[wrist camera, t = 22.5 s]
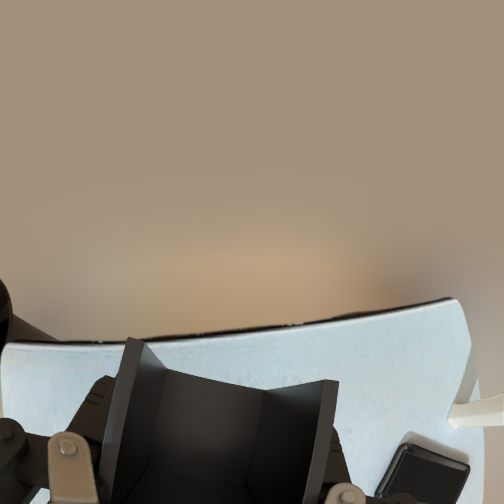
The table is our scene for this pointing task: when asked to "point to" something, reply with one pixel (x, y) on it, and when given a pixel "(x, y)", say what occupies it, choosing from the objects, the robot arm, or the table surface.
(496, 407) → the perfume bottle
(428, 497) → the phone
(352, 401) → the table surface
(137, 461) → the holder
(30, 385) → the table surface
